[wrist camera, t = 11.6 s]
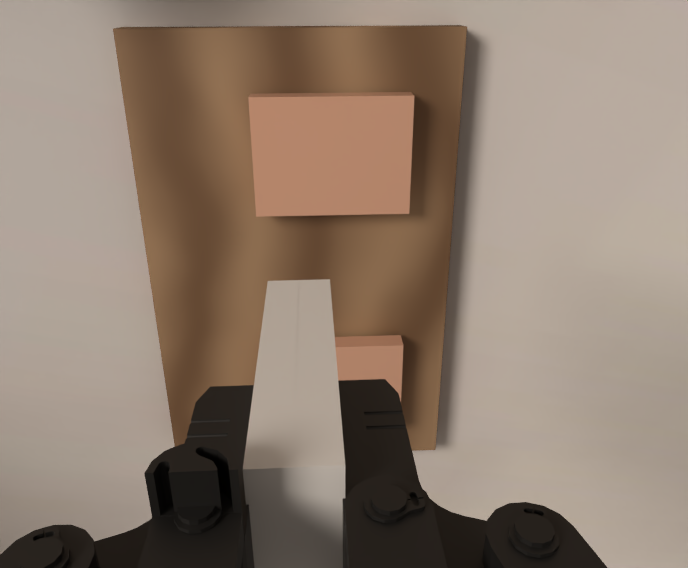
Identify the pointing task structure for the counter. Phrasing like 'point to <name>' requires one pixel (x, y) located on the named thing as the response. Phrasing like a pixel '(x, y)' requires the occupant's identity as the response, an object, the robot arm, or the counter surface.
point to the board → (286, 231)
